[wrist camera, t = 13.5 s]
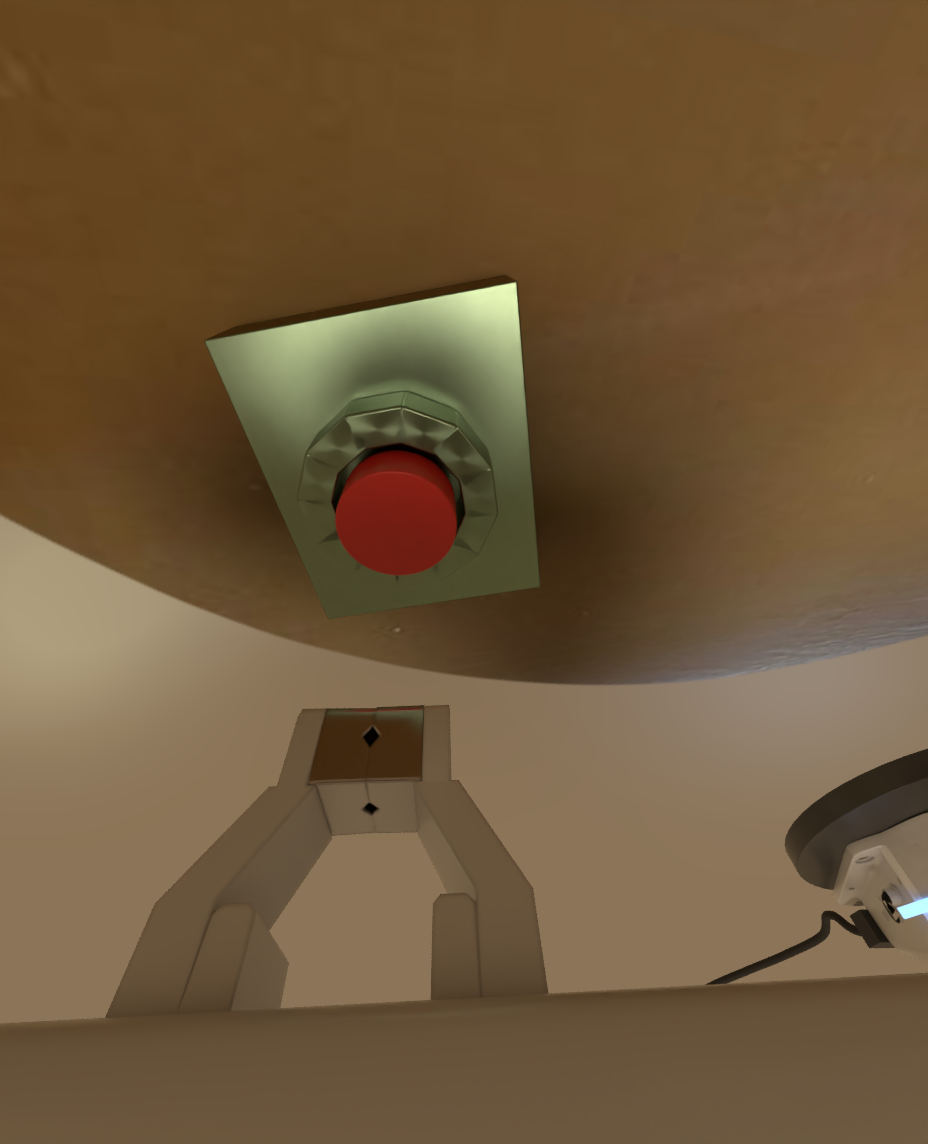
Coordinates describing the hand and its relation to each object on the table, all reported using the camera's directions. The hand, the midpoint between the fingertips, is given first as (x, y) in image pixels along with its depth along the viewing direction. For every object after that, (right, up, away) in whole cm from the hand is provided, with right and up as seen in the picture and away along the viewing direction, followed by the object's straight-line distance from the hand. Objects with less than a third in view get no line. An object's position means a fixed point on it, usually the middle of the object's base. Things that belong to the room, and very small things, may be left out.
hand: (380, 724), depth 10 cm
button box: (-1, +8, +10) cm, 13 cm away
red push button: (-1, +6, +7) cm, 9 cm away
